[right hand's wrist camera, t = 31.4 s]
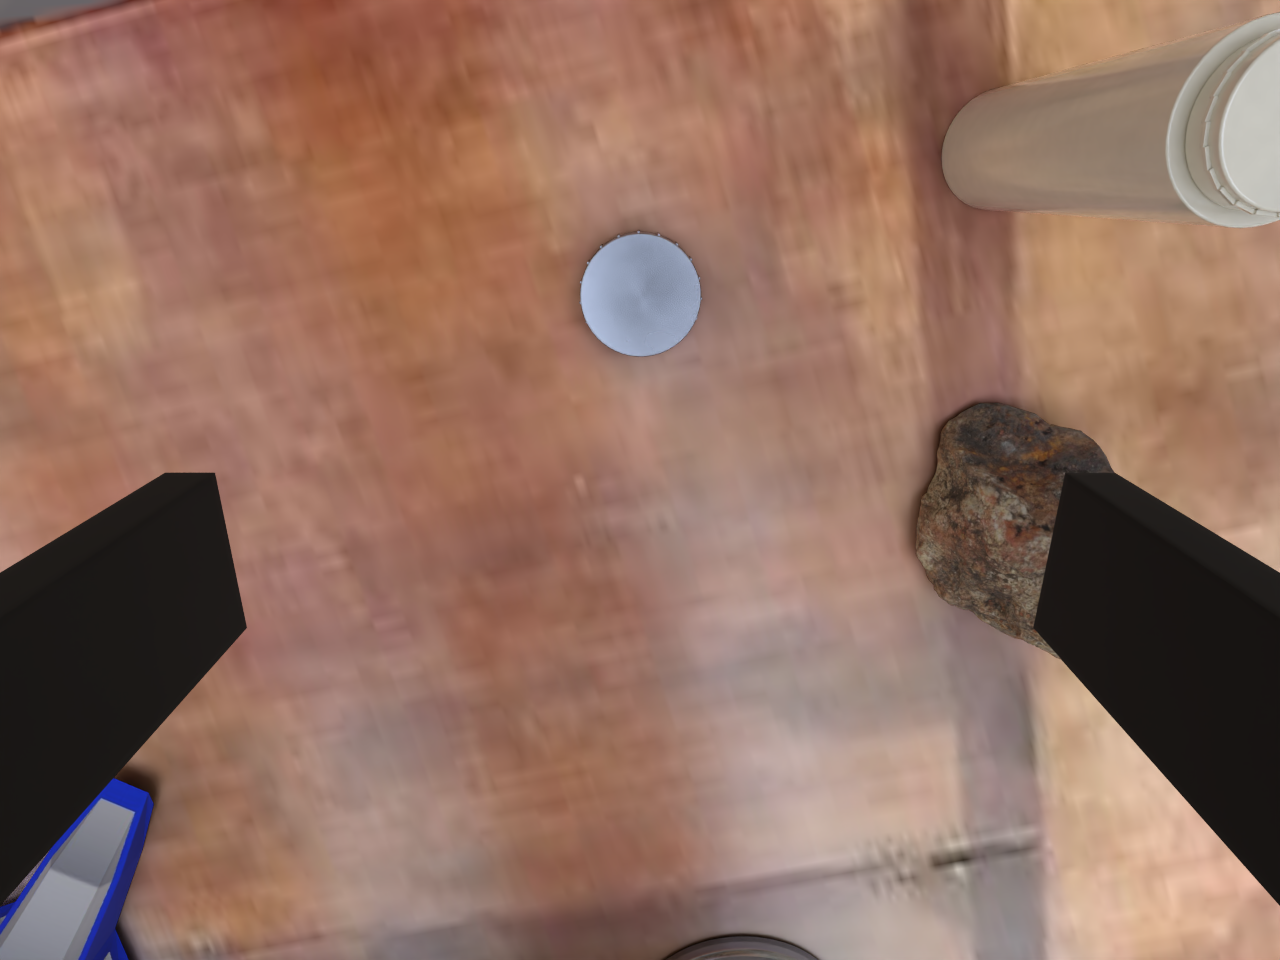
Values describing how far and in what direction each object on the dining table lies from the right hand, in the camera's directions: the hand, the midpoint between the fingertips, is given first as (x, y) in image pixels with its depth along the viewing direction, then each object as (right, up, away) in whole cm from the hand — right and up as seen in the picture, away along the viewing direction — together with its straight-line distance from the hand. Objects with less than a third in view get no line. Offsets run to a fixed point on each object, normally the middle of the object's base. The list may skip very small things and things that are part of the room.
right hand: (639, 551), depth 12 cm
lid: (0, +10, +26) cm, 28 cm away
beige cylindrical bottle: (+17, +17, +25) cm, 35 cm away
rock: (+20, -1, +32) cm, 38 cm away
